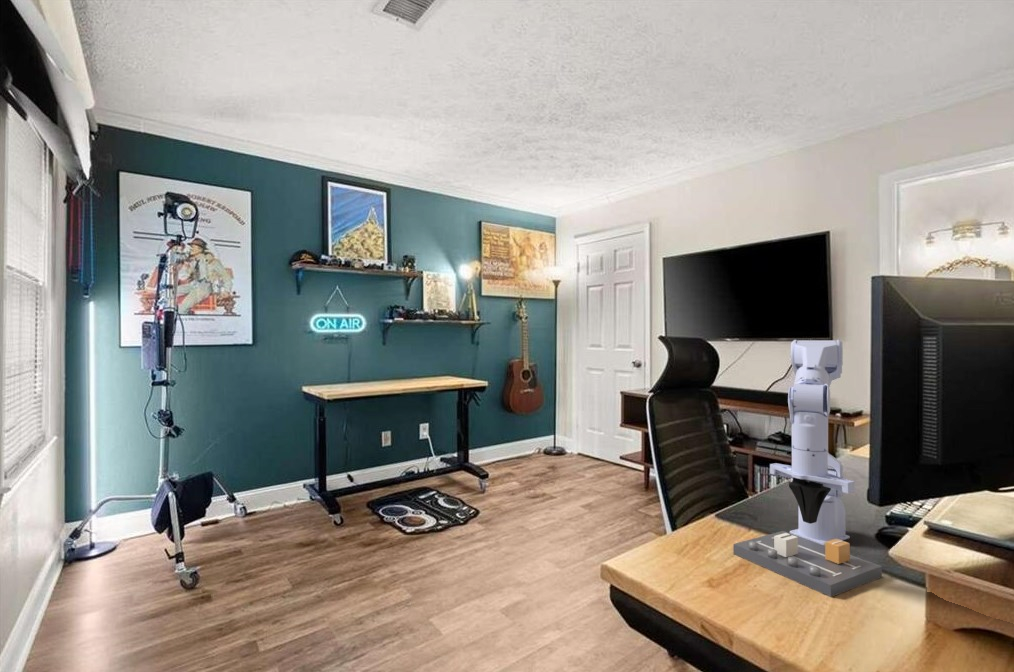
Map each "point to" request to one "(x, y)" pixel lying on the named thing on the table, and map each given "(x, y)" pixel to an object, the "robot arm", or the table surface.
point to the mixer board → (809, 565)
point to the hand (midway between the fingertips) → (809, 521)
